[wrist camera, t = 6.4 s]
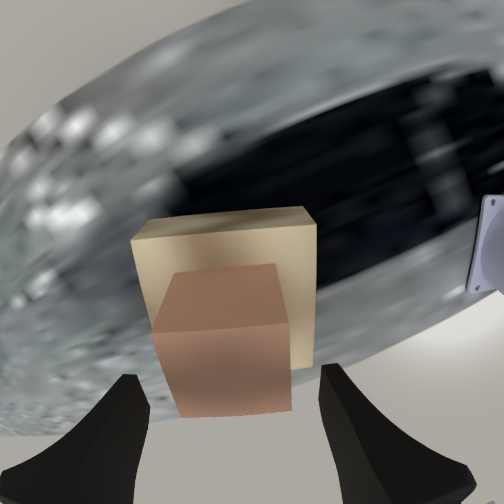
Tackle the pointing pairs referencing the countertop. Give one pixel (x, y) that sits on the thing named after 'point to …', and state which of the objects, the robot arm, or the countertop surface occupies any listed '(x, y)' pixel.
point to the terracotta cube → (225, 342)
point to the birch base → (236, 259)
